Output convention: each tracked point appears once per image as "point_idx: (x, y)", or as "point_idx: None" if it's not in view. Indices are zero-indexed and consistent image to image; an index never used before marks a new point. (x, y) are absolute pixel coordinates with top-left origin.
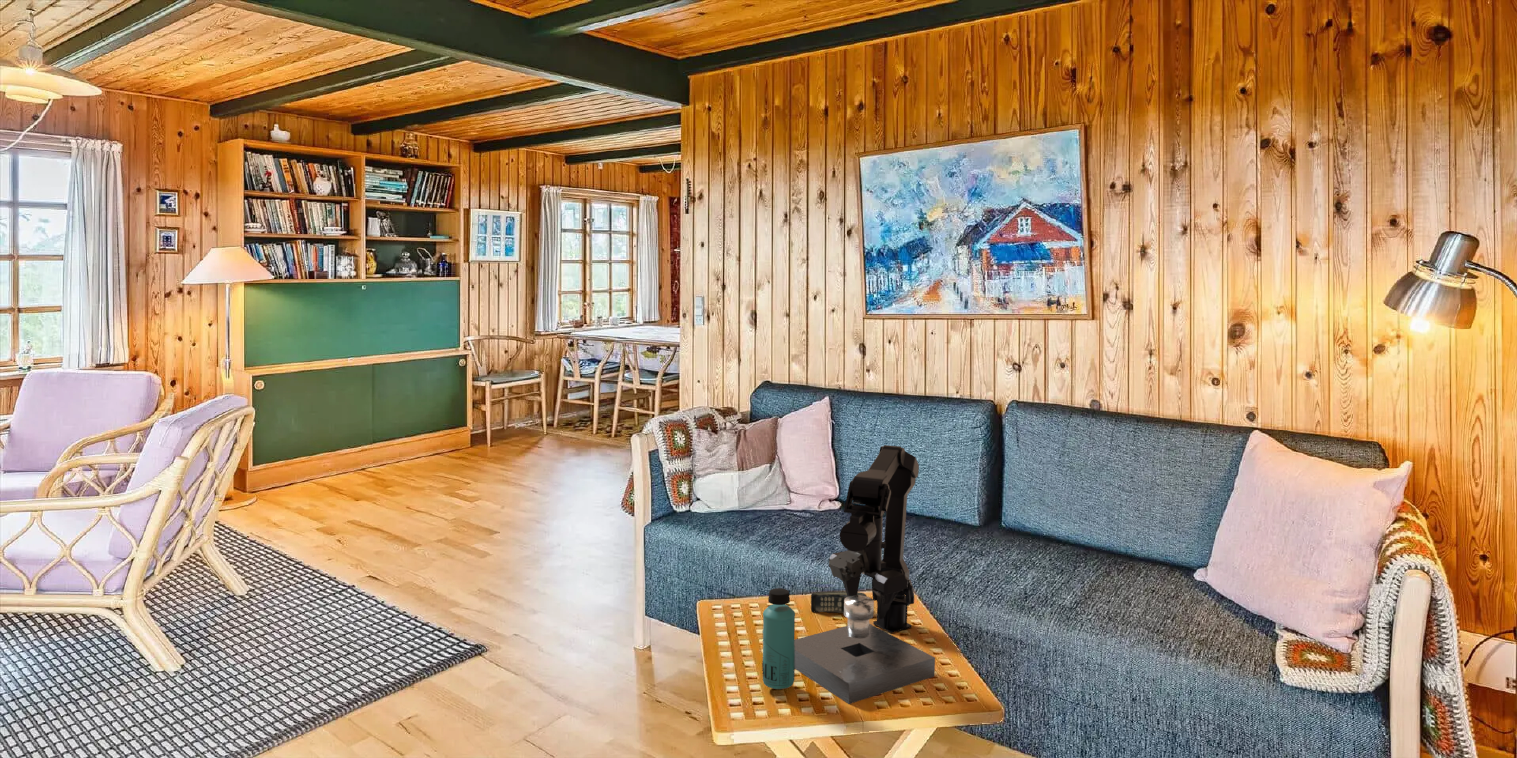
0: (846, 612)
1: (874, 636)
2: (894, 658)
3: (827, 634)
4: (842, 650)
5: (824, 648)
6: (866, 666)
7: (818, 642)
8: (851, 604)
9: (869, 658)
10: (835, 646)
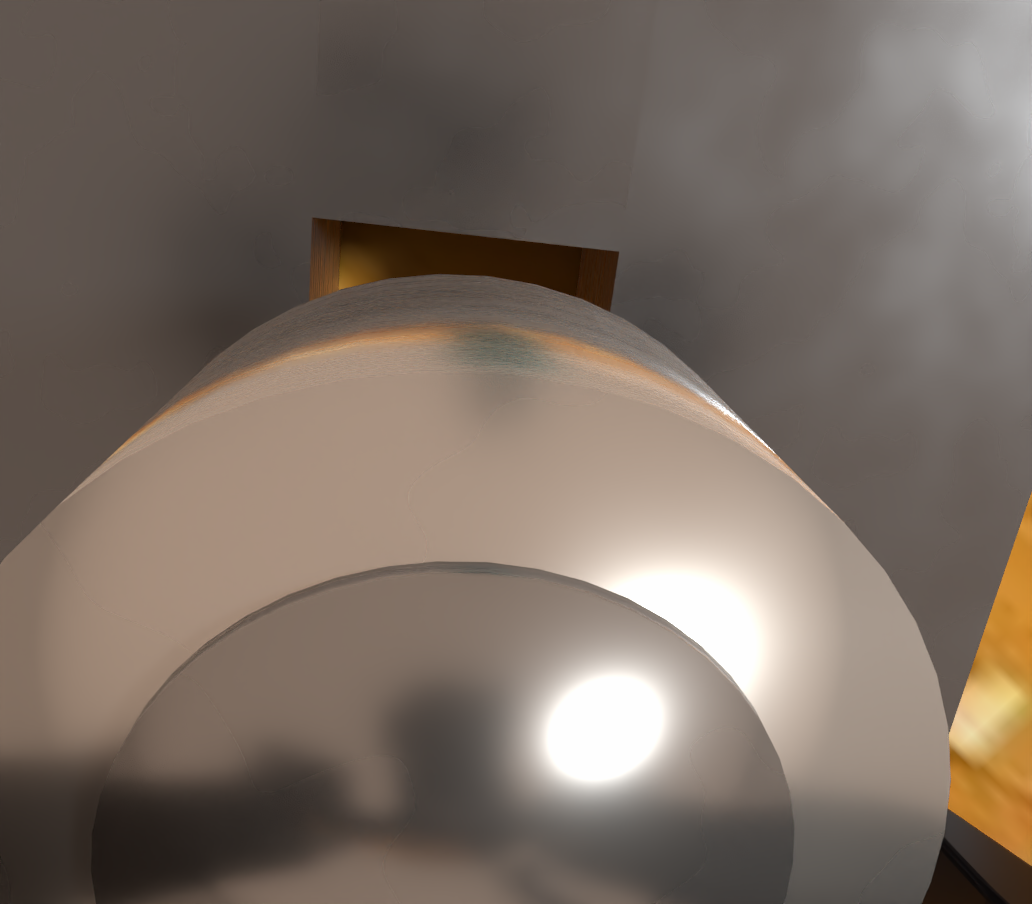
0: (528, 304)
1: None
2: None
3: (982, 402)
4: (556, 220)
5: (751, 72)
6: (19, 120)
7: (924, 149)
8: (318, 425)
9: (190, 323)
10: (697, 238)
